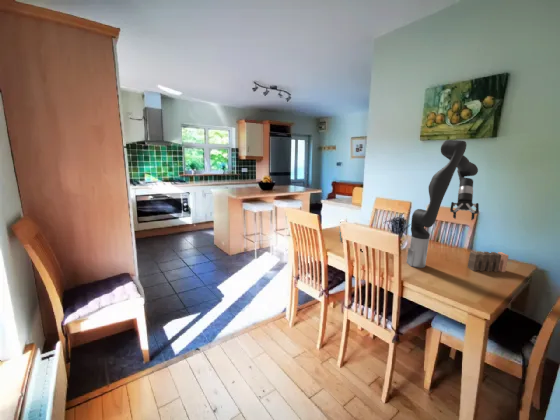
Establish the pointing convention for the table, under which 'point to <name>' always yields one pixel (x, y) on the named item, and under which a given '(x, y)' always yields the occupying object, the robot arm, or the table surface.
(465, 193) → the robot arm
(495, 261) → the domino
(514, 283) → the table surface
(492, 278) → the table surface
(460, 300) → the table surface
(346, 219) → the ink box
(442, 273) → the table surface
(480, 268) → the domino
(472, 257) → the domino
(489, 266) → the domino
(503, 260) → the domino
